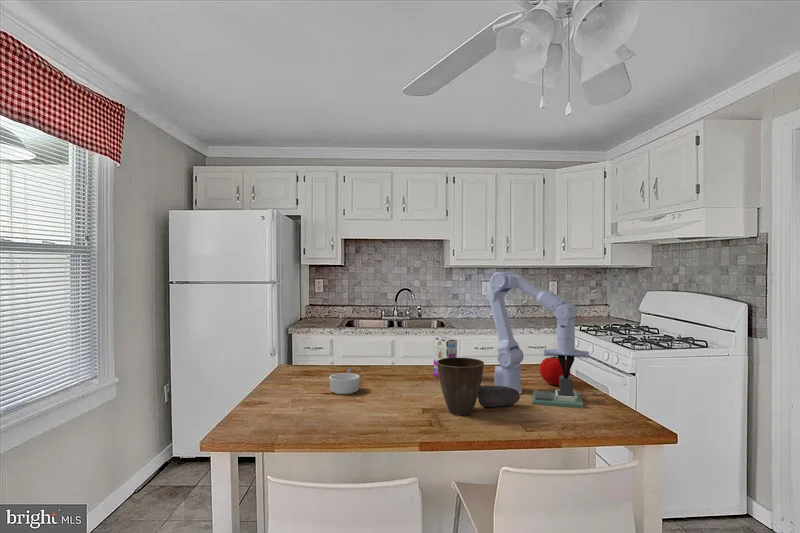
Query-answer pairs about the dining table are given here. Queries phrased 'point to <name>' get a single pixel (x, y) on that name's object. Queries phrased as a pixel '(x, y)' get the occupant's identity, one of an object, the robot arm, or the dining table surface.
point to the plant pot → (460, 383)
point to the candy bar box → (443, 350)
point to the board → (557, 399)
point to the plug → (566, 386)
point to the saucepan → (344, 382)
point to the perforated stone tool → (497, 396)
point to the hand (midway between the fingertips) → (566, 377)
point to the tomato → (551, 370)
